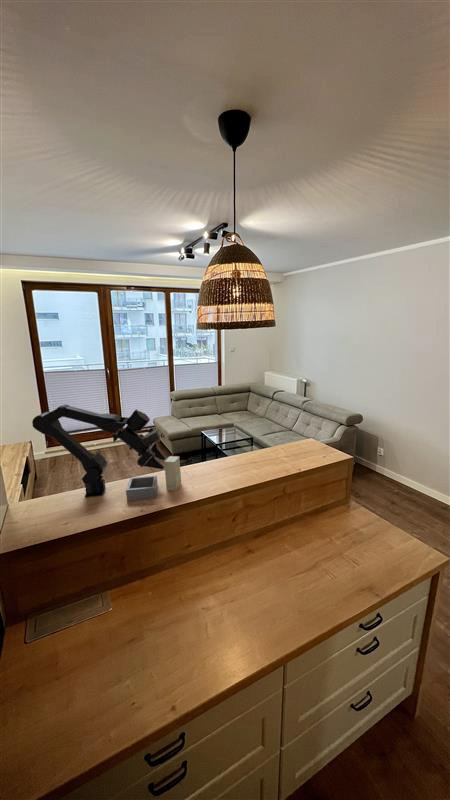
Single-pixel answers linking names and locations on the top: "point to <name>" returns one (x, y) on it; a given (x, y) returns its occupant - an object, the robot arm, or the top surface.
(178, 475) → the skincare box
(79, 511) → the top surface
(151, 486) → the gray rectangular frame
